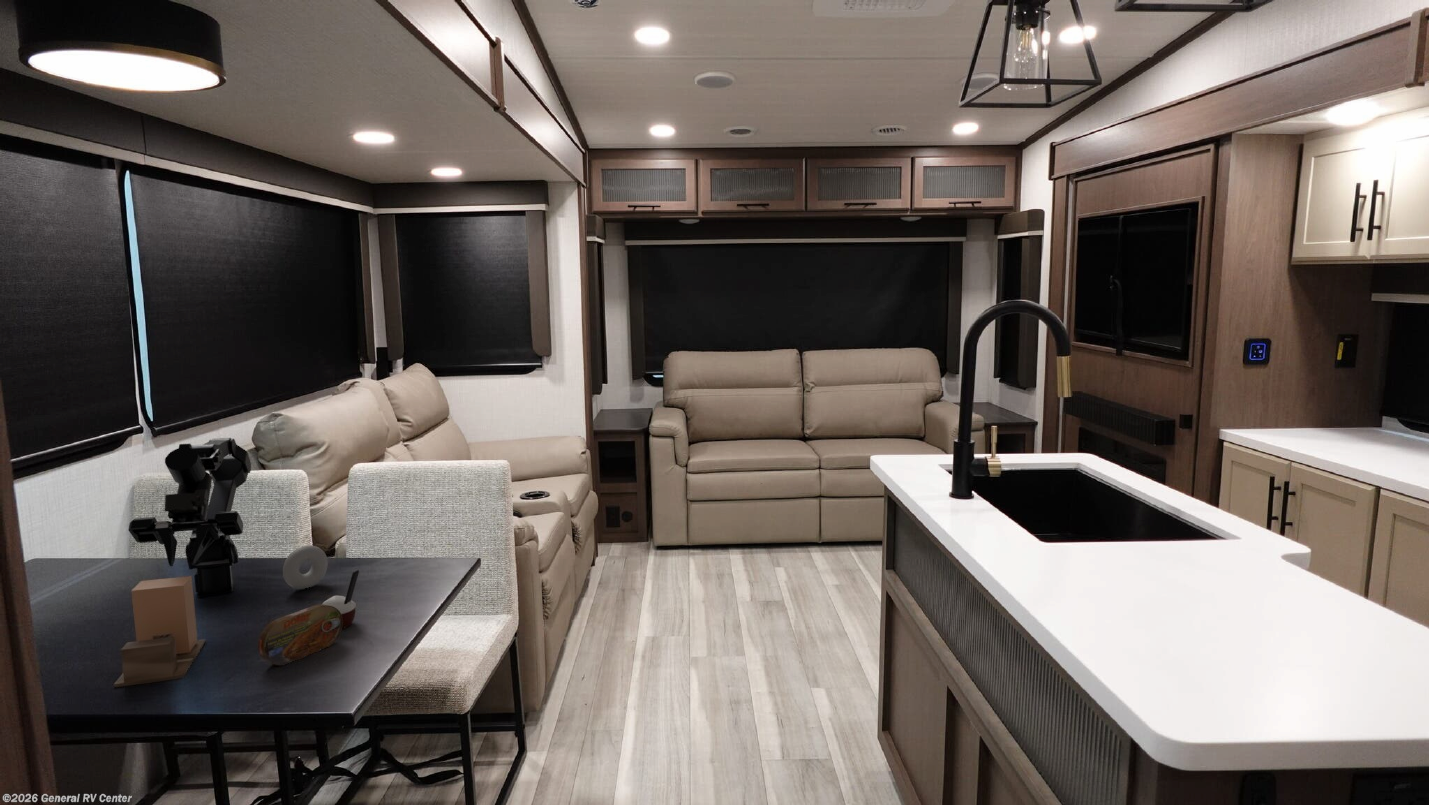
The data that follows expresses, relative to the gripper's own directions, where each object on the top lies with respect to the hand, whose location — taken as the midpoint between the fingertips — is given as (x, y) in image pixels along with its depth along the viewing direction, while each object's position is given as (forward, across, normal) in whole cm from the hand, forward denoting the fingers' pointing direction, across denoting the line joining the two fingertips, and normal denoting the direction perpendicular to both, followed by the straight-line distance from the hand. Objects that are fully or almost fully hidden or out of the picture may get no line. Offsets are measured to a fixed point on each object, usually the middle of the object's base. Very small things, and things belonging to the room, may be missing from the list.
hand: (181, 564), depth 153 cm
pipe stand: (+20, 0, -1) cm, 20 cm away
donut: (-2, +19, +22) cm, 29 cm away
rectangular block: (+18, 0, +2) cm, 18 cm away
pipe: (+18, 0, -2) cm, 19 cm away
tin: (+23, +23, -4) cm, 33 cm away
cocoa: (+16, +29, +4) cm, 33 cm away
